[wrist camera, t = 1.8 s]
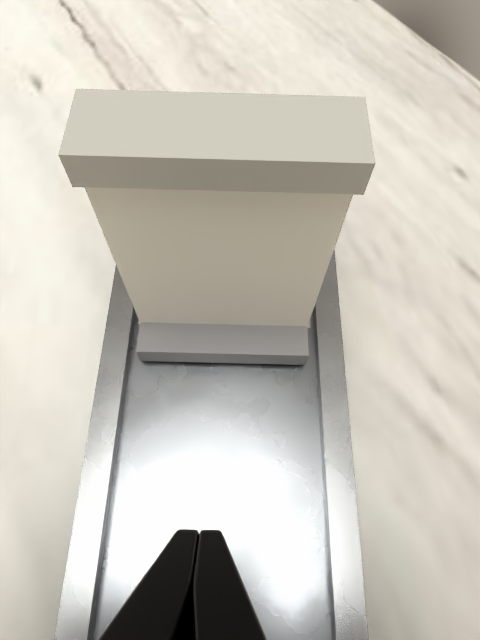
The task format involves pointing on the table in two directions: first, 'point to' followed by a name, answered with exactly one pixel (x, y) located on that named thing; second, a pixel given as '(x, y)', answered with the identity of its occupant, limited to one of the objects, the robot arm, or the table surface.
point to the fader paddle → (219, 211)
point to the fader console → (221, 479)
